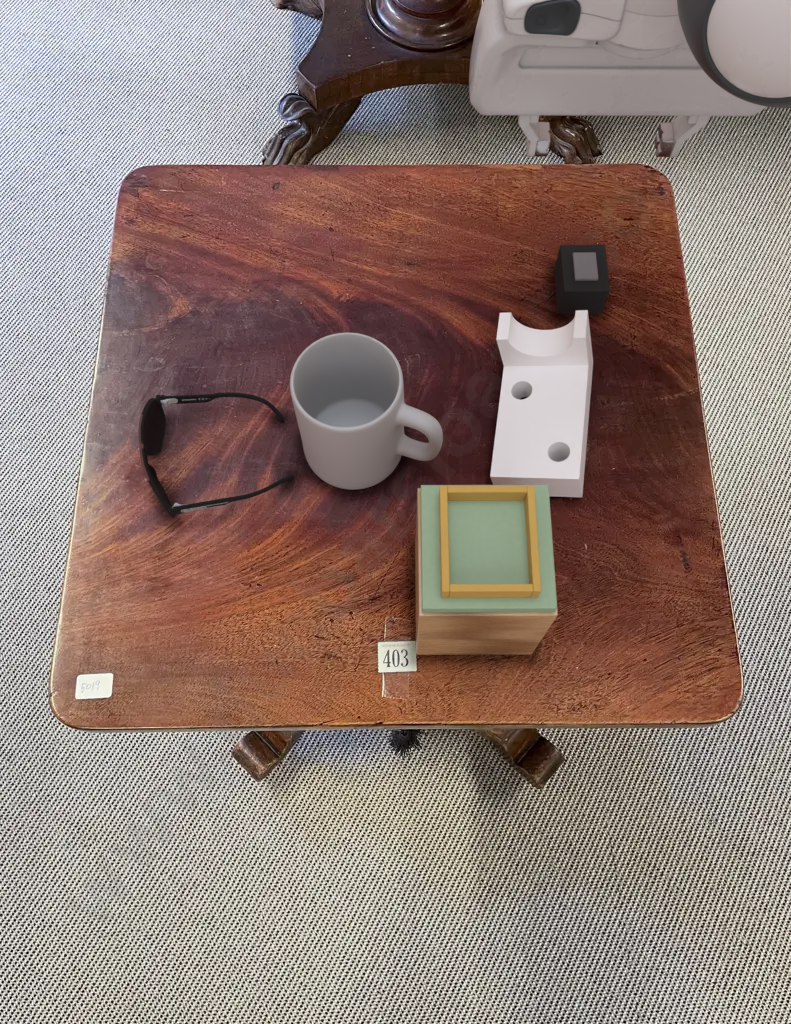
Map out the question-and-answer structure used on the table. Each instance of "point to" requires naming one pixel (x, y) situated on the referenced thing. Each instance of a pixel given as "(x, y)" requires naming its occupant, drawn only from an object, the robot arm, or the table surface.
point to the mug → (356, 411)
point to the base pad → (487, 549)
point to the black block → (581, 279)
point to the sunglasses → (153, 439)
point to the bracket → (543, 405)
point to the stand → (474, 623)
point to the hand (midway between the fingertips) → (600, 150)
